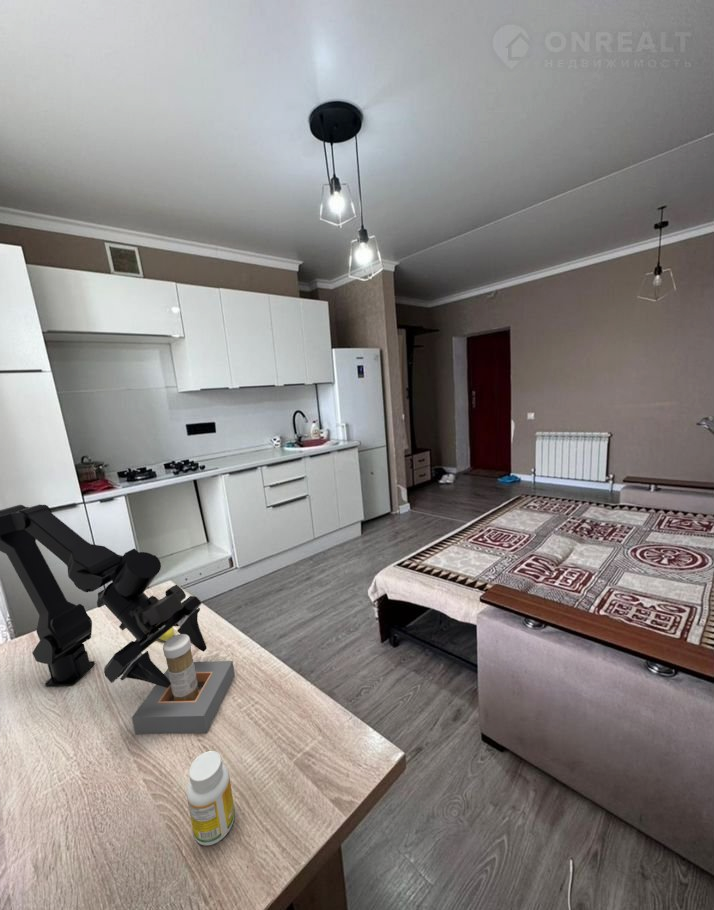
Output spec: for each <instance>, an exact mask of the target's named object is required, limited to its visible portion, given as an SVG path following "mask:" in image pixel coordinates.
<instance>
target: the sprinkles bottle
mask: <svg viewBox="0 0 714 910" xmlns="http://www.w3.org/2000/svg"><path fill="white" fill-rule="evenodd" d="M162 650H163V656H164V657H165V660H166V666H167V669H168V673H169V678H170V682H171V688H172V693H173V696H174V700H173V701H195V700H196V698H197V696H198V694H199V693H200V691H199V687H198V685H197V684H198V683H197V677H196V671H195V666H194V662H195V661H194V658H193V653H192V643H191V642H190V638H189V636H188V635H186V634H180V633H178V634H176V635H175V634H174V635H173V637H171V638H169V639H168V640H167V641H164V643H163V645H162Z"/></svg>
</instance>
